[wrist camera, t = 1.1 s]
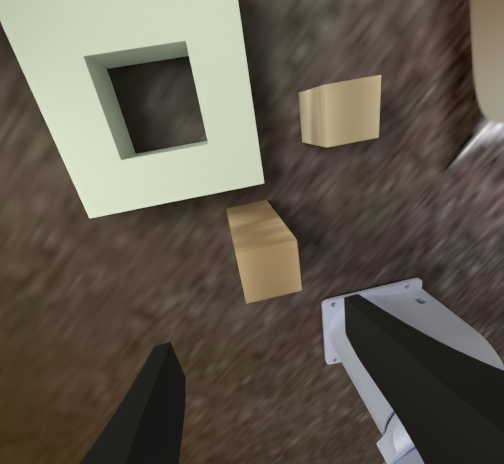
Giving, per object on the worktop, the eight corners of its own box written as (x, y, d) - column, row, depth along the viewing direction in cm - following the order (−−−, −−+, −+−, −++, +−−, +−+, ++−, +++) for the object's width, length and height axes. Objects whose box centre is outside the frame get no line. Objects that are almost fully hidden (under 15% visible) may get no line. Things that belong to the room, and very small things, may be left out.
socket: (227, -12, 14) (231, -45, 11) (255, 174, 18) (264, 183, 15) (31, 15, 13) (-16, -13, 10) (108, 203, 17) (89, 218, 14)
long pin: (266, 200, 19) (296, 239, 12) (271, 236, 20) (301, 290, 14) (226, 208, 19) (235, 253, 12) (233, 245, 20) (246, 303, 13)
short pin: (343, 85, 17) (381, 74, 13) (344, 134, 18) (378, 137, 14) (298, 93, 16) (324, 84, 13) (302, 142, 18) (326, 147, 14)
